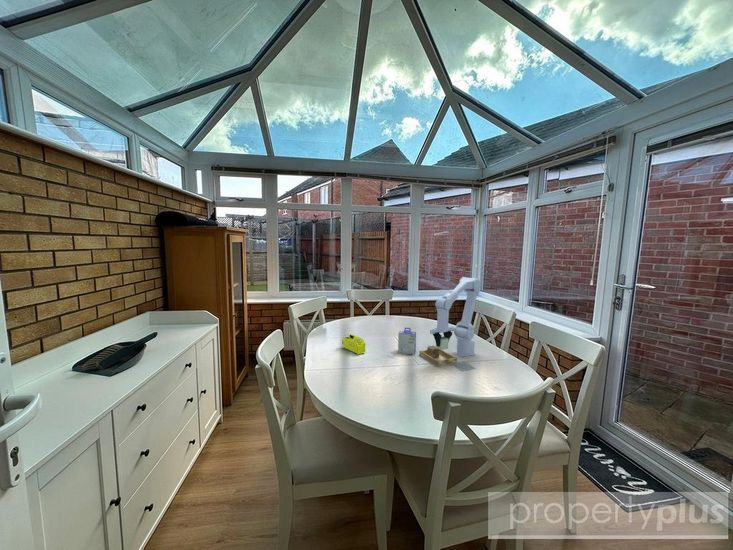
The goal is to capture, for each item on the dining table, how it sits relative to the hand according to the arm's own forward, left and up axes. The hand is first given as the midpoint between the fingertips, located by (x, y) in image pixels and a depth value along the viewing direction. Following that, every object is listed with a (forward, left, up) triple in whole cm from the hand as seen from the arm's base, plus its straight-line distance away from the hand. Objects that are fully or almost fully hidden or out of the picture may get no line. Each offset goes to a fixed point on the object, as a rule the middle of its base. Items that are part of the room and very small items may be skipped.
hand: (442, 345), depth 160 cm
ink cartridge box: (+10, -19, -9) cm, 23 cm away
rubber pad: (-6, +10, -9) cm, 15 cm away
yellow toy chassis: (+37, -34, -10) cm, 52 cm away
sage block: (0, 0, -1) cm, 1 cm away
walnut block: (0, -7, -9) cm, 11 cm away
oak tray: (0, -3, -9) cm, 10 cm away
